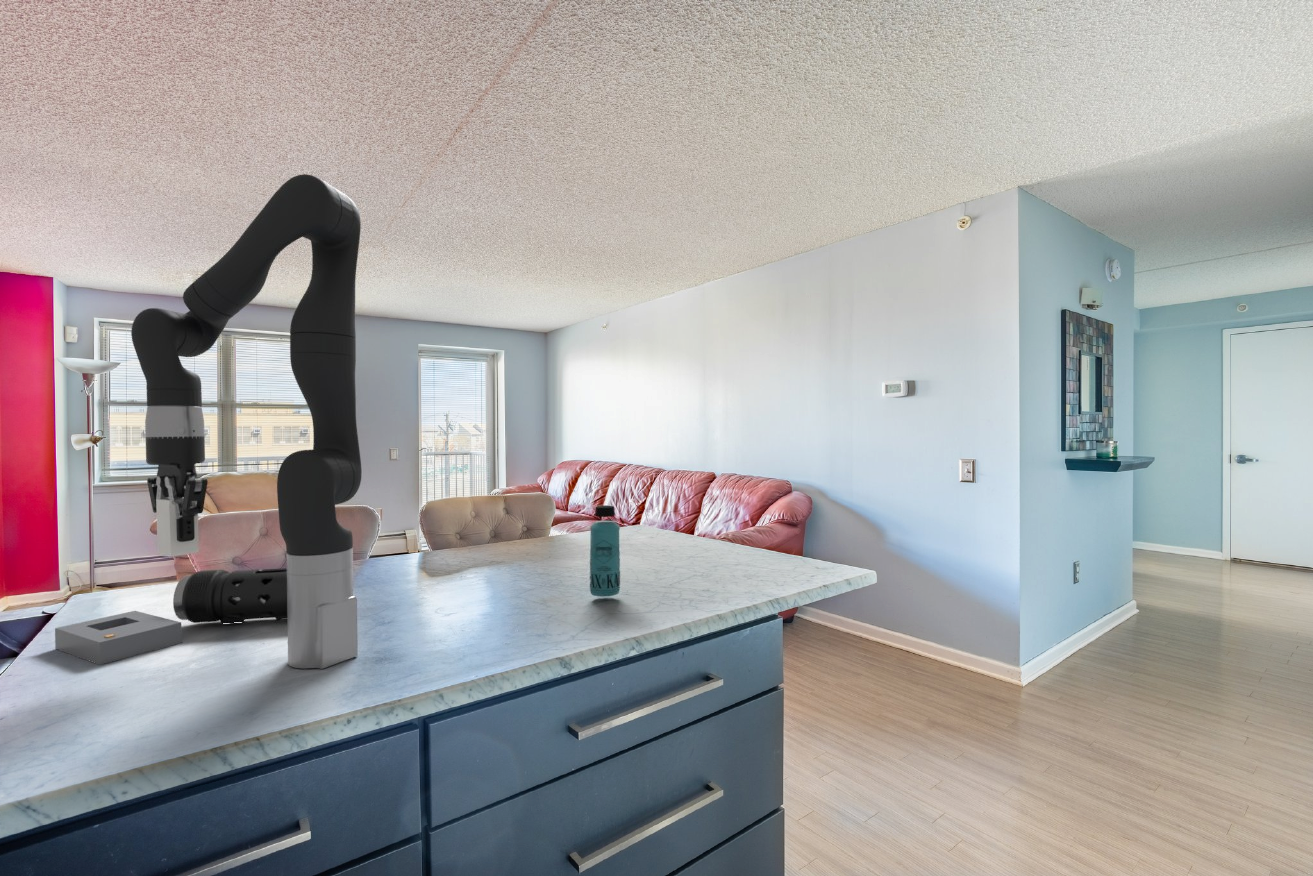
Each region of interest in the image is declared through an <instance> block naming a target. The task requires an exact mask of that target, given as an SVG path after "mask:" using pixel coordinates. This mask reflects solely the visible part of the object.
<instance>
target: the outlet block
mask: <svg viewBox="0 0 1313 876" xmlns="http://www.w3.org/2000/svg"><path fill="white" fill-rule="evenodd" d="M54 637H55V638H54V643H55V648H54V649H55V650H57V649H59V650H58V651H60V650H61V651H60V652H63V651H64V652H63V653H65V652H66V654H68V653H69V655H71V654H73V655H72V656H74V655H75V656H74V657H77V656H79V657H80V659H82V658H84V659H83V660H85V659H86V661H88V660H90V661H89V662H91V661H93V662H95V663H94V664H96V663H98V664H97V665H99V666H101V665H104V663H105V664H108V663H111V661H113V662H115V661H119V660H123V659H127V658H130V657H131V658H132V657H134V656H139V655H141V654H142V655H143V654H145V653H149V652H153V651H157V650H160V649H163V648H168V647H171V646H173V645H179V644H182V642H183V641H182V622H181V621H176V620H173V619H170V618H166V617H165V618H164V617H161V616H157V615H154V614H150V613H145V612H143V611H138V610H132V611H128V612H123V613H118V614H113V615H109V616H104V617H100V618H96V619H91V620H87V621H81V622H78V623H72V624H68V625H64V626H58V627H55V628H54ZM170 645H171V646H170ZM156 649H157V650H156ZM79 657H78V658H79ZM93 662H92V663H93Z"/></svg>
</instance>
